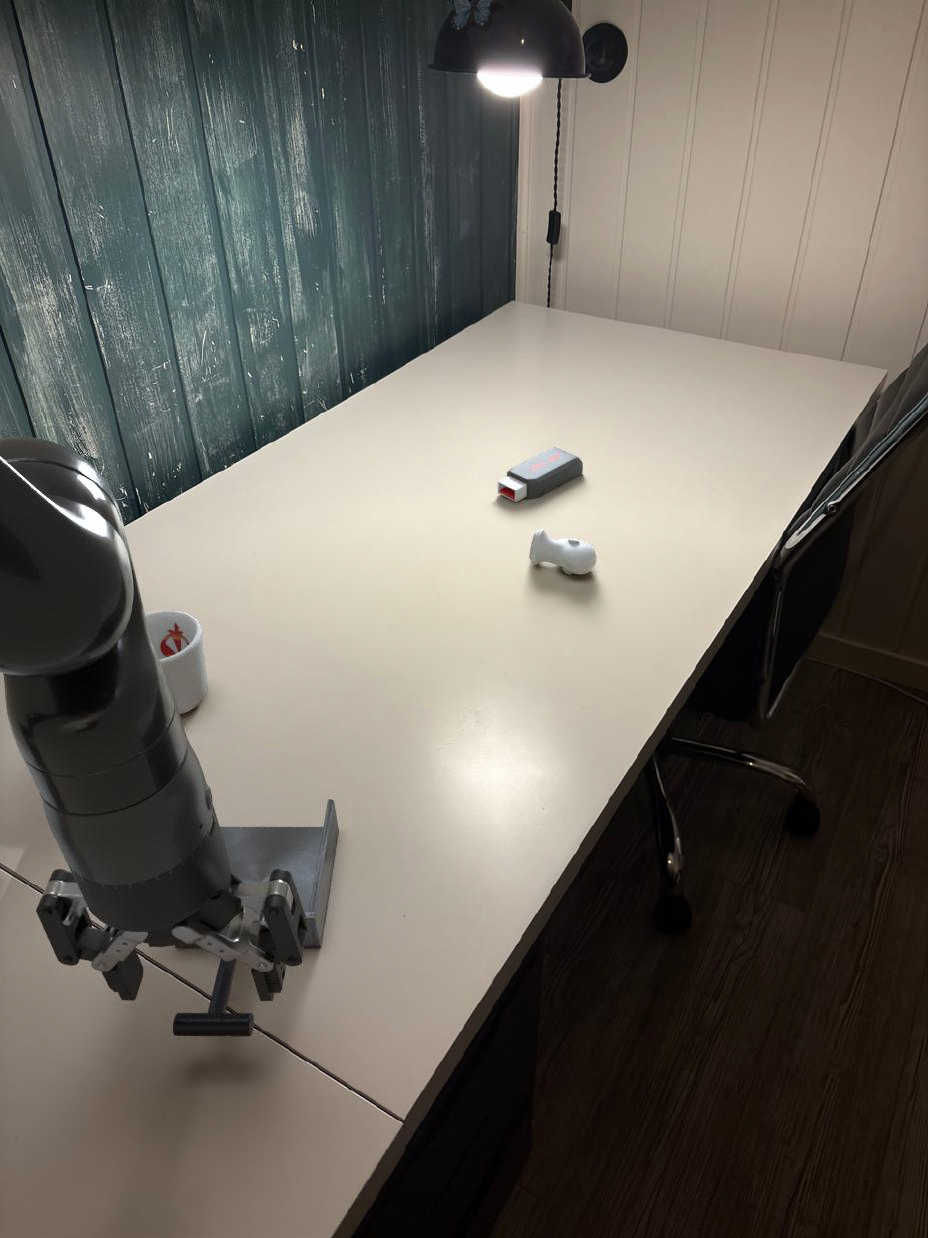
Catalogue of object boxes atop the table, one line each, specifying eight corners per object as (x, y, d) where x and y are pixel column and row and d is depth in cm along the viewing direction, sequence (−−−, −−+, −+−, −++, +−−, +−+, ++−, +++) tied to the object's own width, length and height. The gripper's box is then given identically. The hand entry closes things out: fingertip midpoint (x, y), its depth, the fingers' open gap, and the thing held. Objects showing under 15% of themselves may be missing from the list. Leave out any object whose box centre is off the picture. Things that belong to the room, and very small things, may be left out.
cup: (92, 715, 89) (68, 652, 84) (134, 662, 95) (114, 600, 90) (194, 732, 86) (175, 669, 81) (230, 677, 92) (215, 615, 87)
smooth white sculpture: (599, 574, 107) (583, 585, 103) (538, 554, 110) (520, 564, 106) (607, 540, 105) (591, 549, 101) (545, 520, 108) (527, 529, 104)
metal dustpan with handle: (141, 1064, 62) (124, 1029, 59) (209, 830, 77) (198, 793, 74) (303, 1065, 62) (294, 1030, 59) (339, 830, 77) (333, 793, 74)
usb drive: (582, 473, 123) (584, 454, 122) (521, 506, 117) (521, 487, 115) (553, 459, 126) (554, 441, 125) (492, 491, 120) (492, 473, 118)
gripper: (-33, 882, 44) (68, 1046, 54) (261, 881, 44) (307, 1047, 54) (28, 765, 50) (108, 933, 60) (287, 763, 50) (324, 933, 60)
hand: (202, 987), depth 57 cm, fingers open, 8 cm apart
